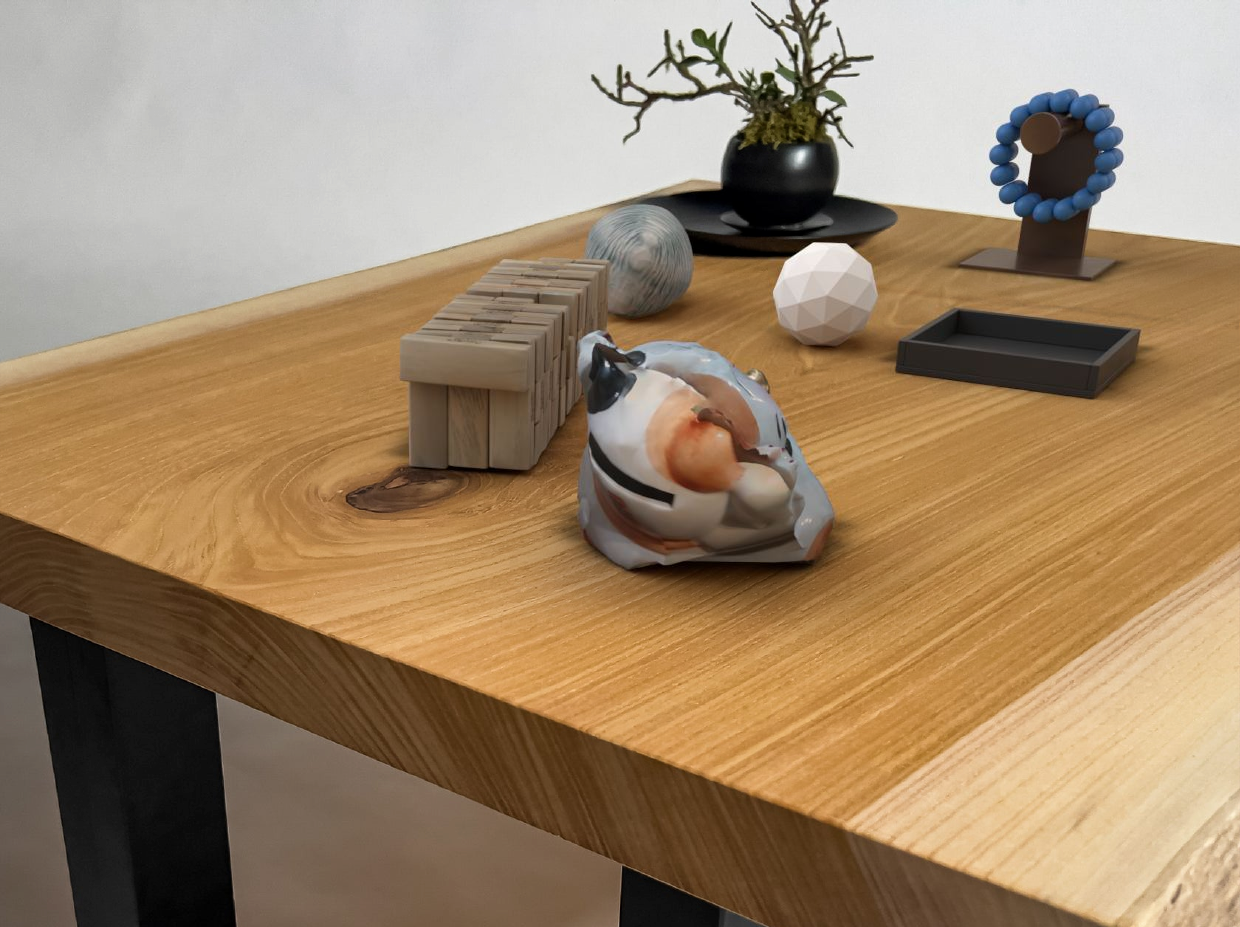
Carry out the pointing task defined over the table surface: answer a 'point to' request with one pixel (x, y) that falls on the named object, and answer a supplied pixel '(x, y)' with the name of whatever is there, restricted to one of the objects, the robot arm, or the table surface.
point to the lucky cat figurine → (691, 461)
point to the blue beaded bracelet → (1103, 163)
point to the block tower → (502, 363)
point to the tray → (1019, 352)
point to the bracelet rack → (1055, 174)
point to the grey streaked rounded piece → (642, 259)
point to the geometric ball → (825, 294)
